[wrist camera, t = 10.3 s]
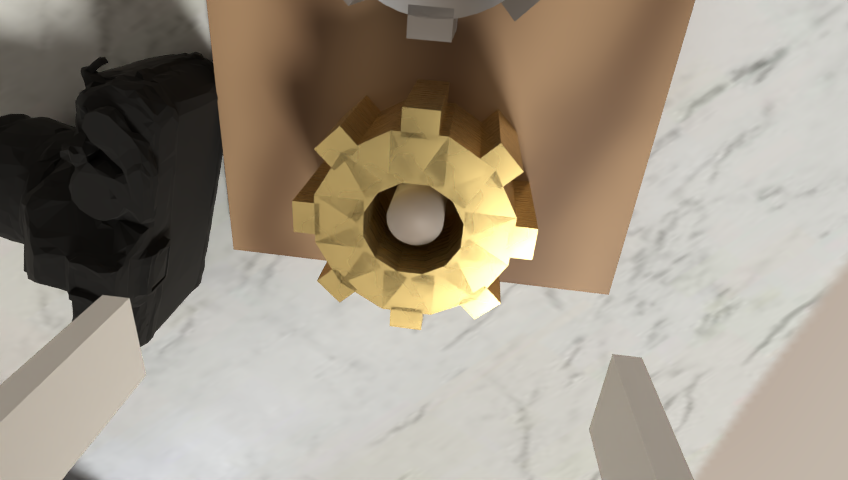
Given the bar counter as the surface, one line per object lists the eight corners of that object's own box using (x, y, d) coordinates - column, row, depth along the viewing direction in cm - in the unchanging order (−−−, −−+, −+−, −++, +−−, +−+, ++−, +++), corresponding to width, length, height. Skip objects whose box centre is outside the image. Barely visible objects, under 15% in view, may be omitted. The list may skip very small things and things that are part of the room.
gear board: (244, 236, 30) (185, 304, 24) (193, -293, 19) (66, -402, 13) (602, 279, 29) (632, 361, 23) (754, -257, 18) (882, -359, 12)
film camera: (52, -10, 25) (-151, 5, 17) (250, 66, 25) (144, 115, 18) (52, 251, 32) (-91, 346, 24) (206, 304, 33) (117, 415, 25)
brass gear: (326, 258, 28) (297, 314, 24) (324, 69, 23) (287, 95, 19) (511, 280, 28) (515, 341, 23) (545, 91, 23) (559, 123, 19)
